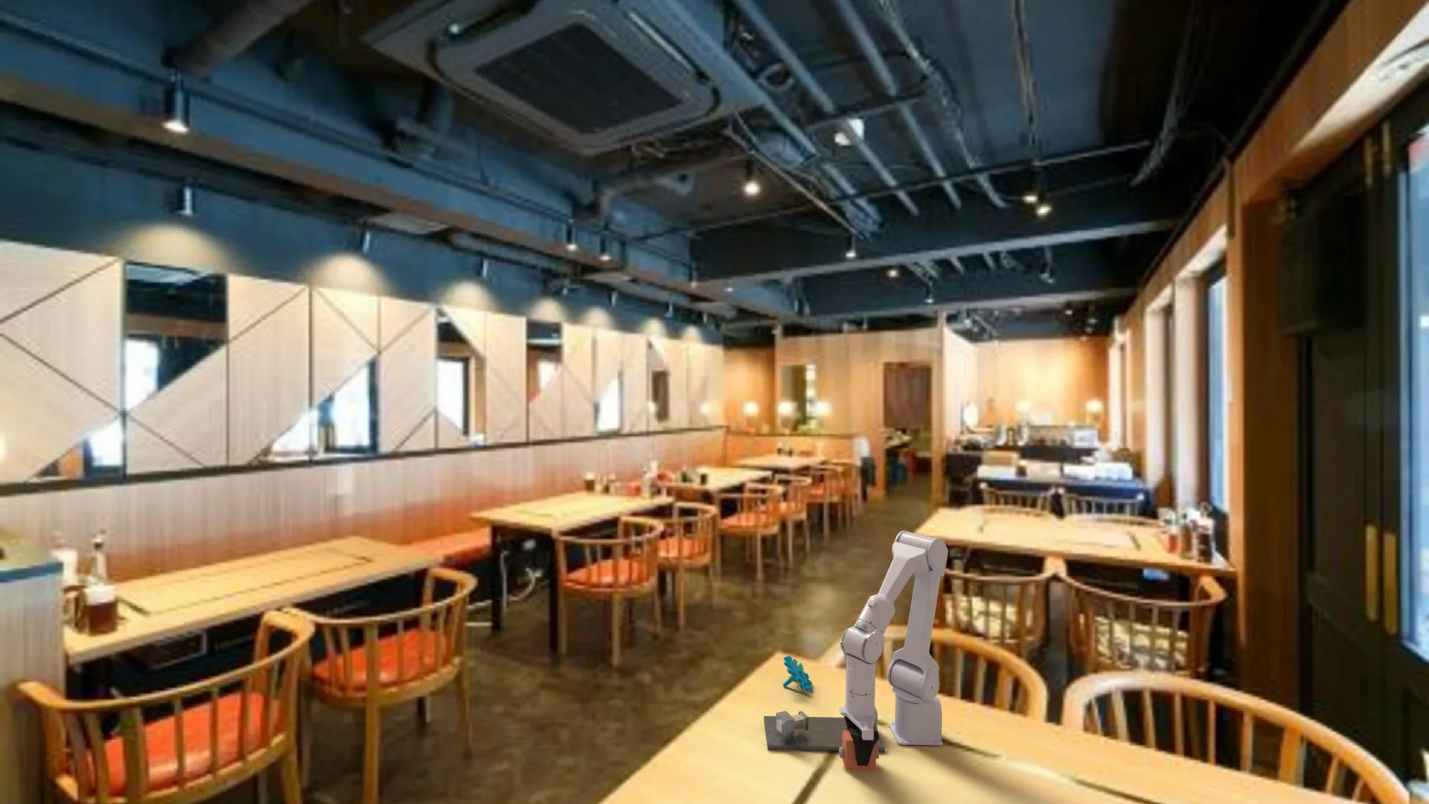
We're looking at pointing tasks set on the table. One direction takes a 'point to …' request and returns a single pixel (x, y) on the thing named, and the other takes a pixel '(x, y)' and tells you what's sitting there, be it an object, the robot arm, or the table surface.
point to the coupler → (849, 754)
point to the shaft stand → (808, 732)
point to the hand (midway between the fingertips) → (858, 755)
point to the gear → (797, 674)
